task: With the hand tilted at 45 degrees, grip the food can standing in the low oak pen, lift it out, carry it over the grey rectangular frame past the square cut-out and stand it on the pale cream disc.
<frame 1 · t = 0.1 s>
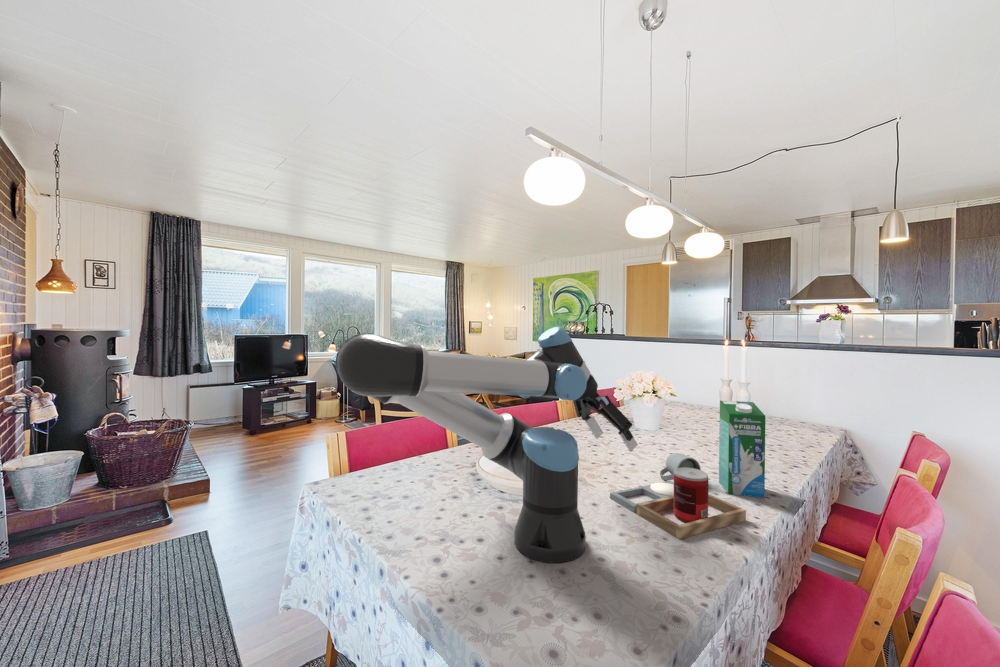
hand: (615, 441, 108), 15 cm above the table, tool tilted 35°, fingers open, 13 cm apart
grey rectangular frame: (653, 498, 108), on the table
ceramic mug: (678, 480, 122), on the table
canned food: (690, 518, 97), resting in oak pen
oak pen: (690, 517, 97), on the table
milk carton: (740, 490, 114), on the table
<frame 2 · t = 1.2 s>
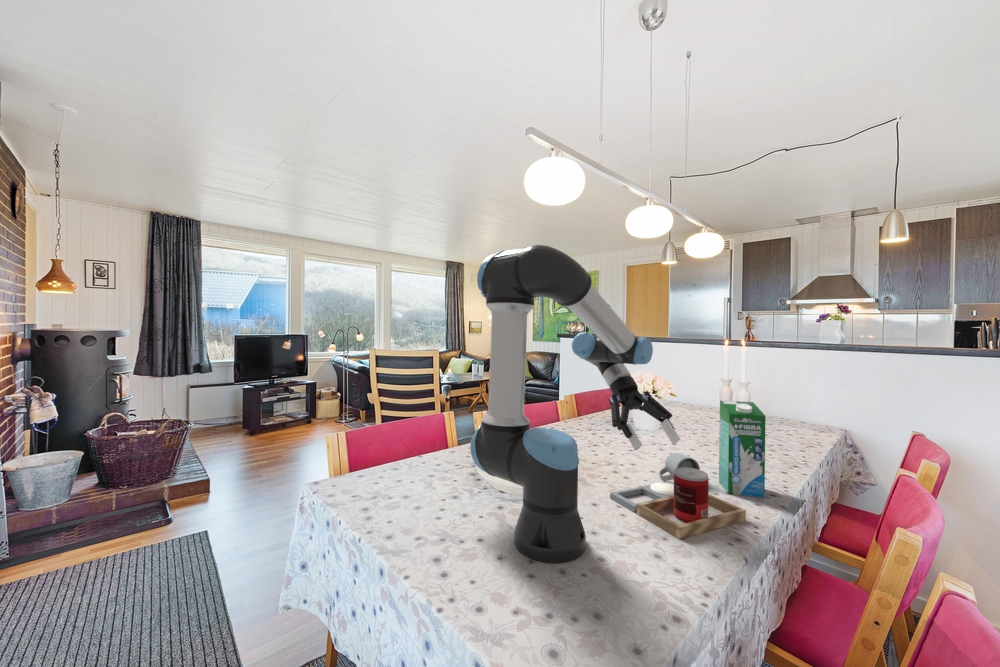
hand: (658, 444, 106), 15 cm above the table, tool tilted 45°, fingers open, 13 cm apart
nothing on the table moved.
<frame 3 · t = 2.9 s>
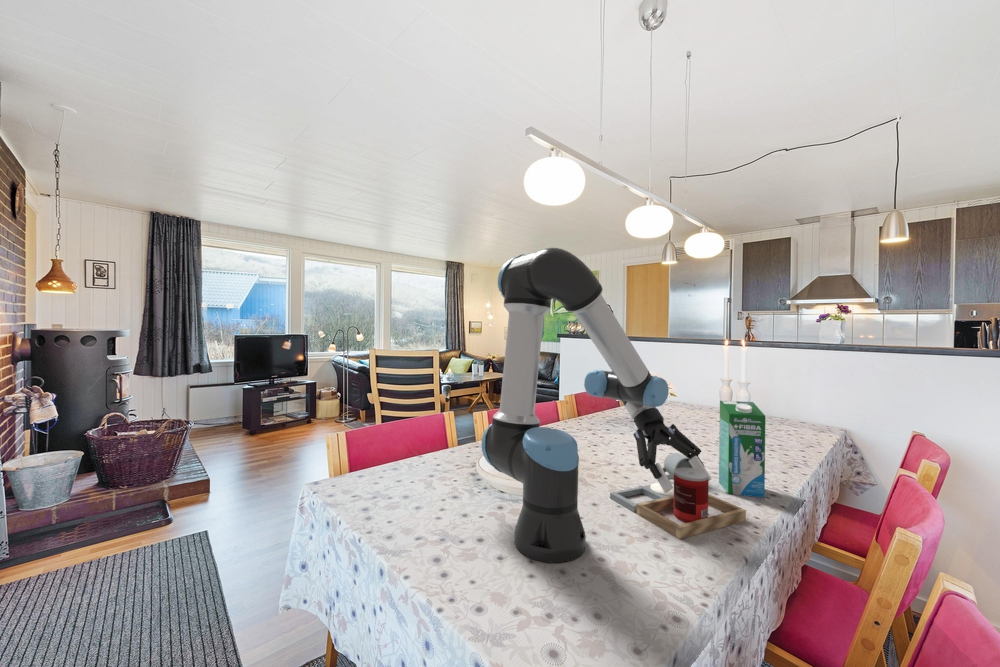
hand: (689, 486, 99), 7 cm above the table, tool tilted 45°, fingers open, 13 cm apart
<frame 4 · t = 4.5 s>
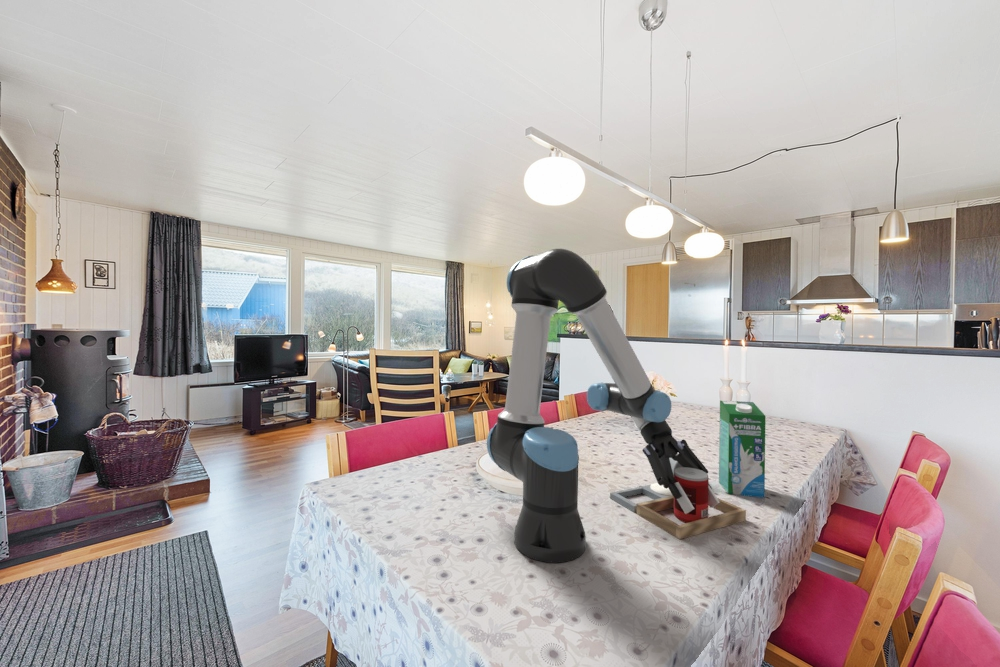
hand: (702, 508, 94), 4 cm above the table, tool tilted 45°, fingers closed on canned food, 8 cm apart
canned food: (690, 518, 97), resting in oak pen, touching gripper
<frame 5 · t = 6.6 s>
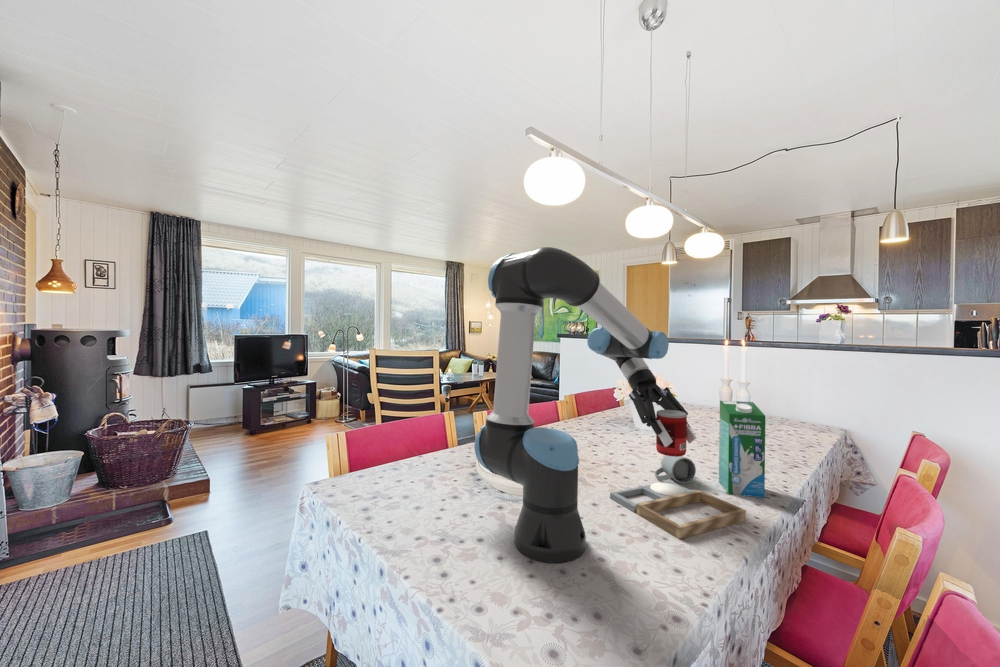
hand: (681, 442, 105), 16 cm above the table, tool tilted 45°, fingers closed on canned food, 8 cm apart
canned food: (671, 453, 108), point 12 cm above the table, touching gripper
when the fingers open (7 cm above the table, at t = 8.8 s): canned food drops 1 cm, resting on grey rectangular frame.
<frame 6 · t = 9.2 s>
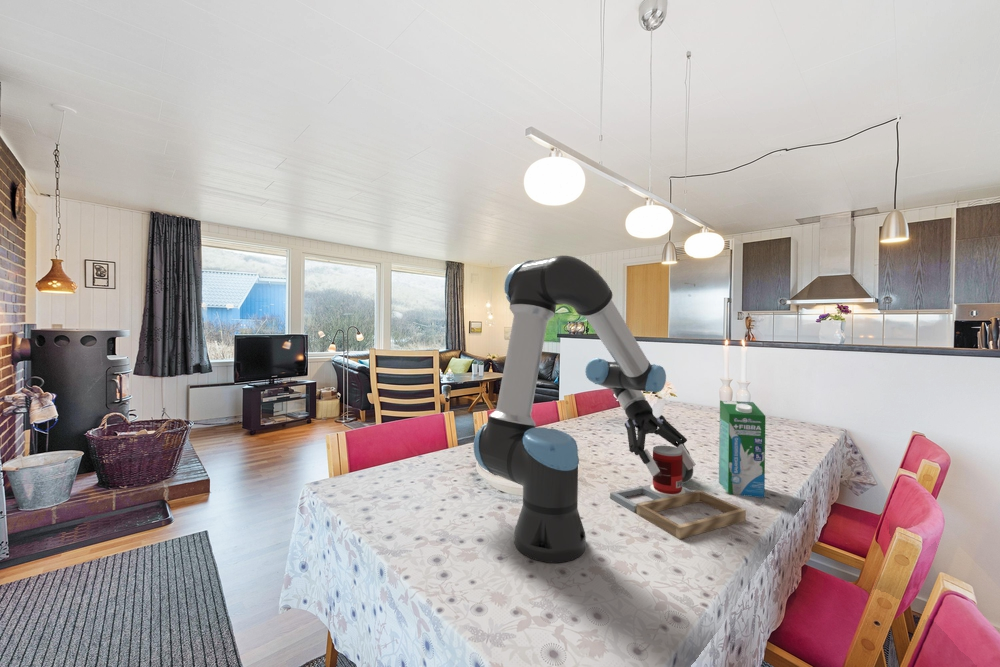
hand: (674, 470, 108), 8 cm above the table, tool tilted 45°, fingers open, 13 cm apart
canned food: (667, 489, 110), point 2 cm above the table, touching grey rectangular frame
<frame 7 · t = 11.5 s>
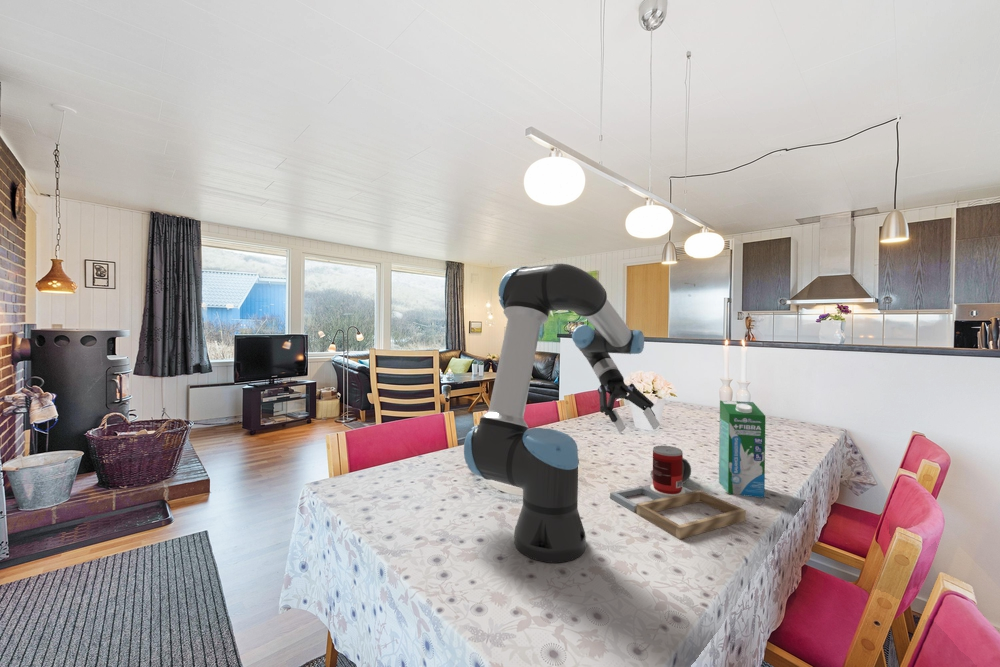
hand: (640, 428, 120), 16 cm above the table, tool tilted 45°, fingers open, 13 cm apart
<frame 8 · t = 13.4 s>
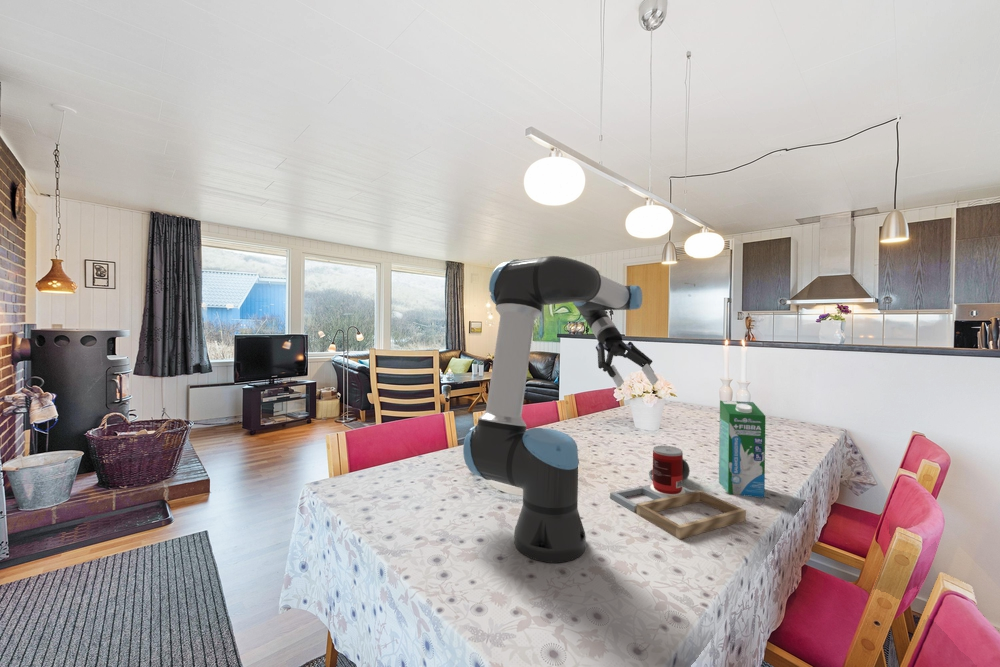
hand: (638, 383, 120), 30 cm above the table, tool tilted 45°, fingers open, 13 cm apart
at the end: canned food inside the target area (0.3 cm from its centre), point 1.5 cm above the table; canned food tilted 0°; the gripper is holding nothing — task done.
